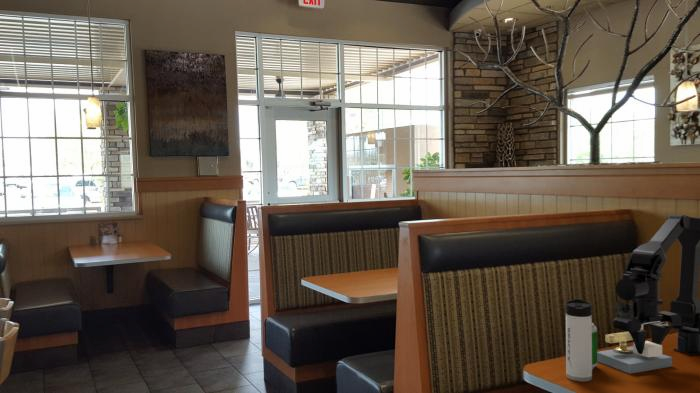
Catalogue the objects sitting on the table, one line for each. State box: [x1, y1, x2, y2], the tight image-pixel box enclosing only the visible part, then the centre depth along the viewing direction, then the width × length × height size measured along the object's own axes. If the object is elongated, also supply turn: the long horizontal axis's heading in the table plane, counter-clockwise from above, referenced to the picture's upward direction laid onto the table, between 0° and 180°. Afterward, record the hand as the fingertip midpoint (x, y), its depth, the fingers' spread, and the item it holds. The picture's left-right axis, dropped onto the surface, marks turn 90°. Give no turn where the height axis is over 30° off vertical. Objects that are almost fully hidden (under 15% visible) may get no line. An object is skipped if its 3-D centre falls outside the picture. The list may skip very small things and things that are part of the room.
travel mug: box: [565, 298, 593, 383], centre depth 152 cm, size 6×7×20 cm
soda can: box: [592, 322, 598, 370], centre depth 160 cm, size 8×8×12 cm
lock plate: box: [597, 345, 673, 374], centre depth 162 cm, size 15×12×3 cm
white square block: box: [632, 340, 663, 357], centre depth 159 cm, size 5×5×3 cm
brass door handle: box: [604, 331, 633, 353], centre depth 166 cm, size 4×11×5 cm, turn 110°
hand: (647, 352), depth 159 cm, fingers closed on white square block, 5 cm apart
